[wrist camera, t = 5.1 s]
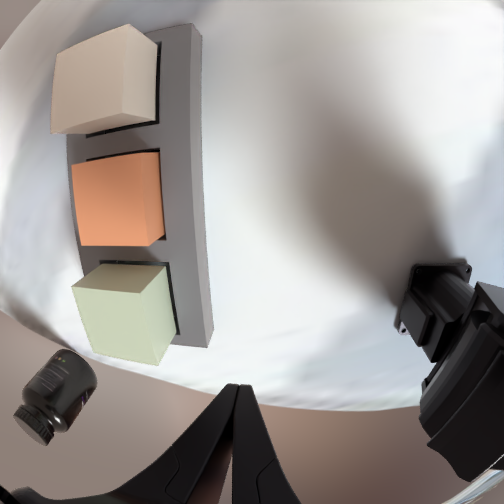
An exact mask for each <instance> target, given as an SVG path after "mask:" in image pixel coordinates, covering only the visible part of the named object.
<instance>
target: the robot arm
mask: <svg viewBox="0 0 504 504" xmlns="http://www.w3.org/2000/svg"><path fill="white" fill-rule="evenodd" d="M418 269H420V270H419V271H418V272H417V273H416V271H417V270H418ZM466 270H467V271H466ZM471 272H472V267H471V266H470V265H469V264H415V265H414V266H413V268H412V271H411V276H410V281H409V285H408V289H407V291H406V293H405V297H404V301H403V305H402V309H401V313H400V321H399V325H398V329H397V330H398V332H399V334H400V335H411V337H412V338H413V340H414V342H415V343H416V345H417V346H418V347H422V348H423V350H424V352H425V353H426V355H427V357H428V358H429V360H430V362H431V363H435V362H437V363H436V365H435V366H434V368H433V369H432V371H431V372H430V374H429V375H428V377H427V378H425V379H424V381H423V382H422V396H421V399H420V410H421V414H420V415H419V420H420V423H421V425H422V427H423V429H424V431H425V432H426V433H427V435H428V436H429V437H430V438H431V439H430V441H428V443H427V446H428V447H430V448H431V449H433V450H435V451H437V452H439V453H440V454H441V455H442V456H443V457H444V458H445V459H446V460H447V461H448V462H449V463H450V465H451V466H452V467H453V469H454V471H455V472H456V474H457V475H458V477H459V478H462V479H463V480H465V481H468V482H472V481H474V480H475V479H477V478H478V477H479V476H480V475H482V474H483V473H484V472H485V471H487V470H488V469H491V470H503V471H504V288H501V287H497V286H494V285H490V284H486V283H482V282H479V281H477V283H476V285H475V288H473V287H472V286H470V285H469V284H468V283H469V280H470V276H471ZM403 328H404V330H402V329H403ZM231 457H233V459H232V504H301V502H300V501H299V499H298V498H297V496H296V495H295V493H294V491H293V490H292V488H291V486H290V484H289V482H288V481H287V479H286V477H285V474H284V472H283V470H282V468H281V465H280V463H279V460H278V458H277V455H276V453H275V450H274V447H273V444H272V442H271V439H270V436H269V434H268V431H267V428H266V425H265V423H264V420H263V417H262V414H261V411H260V408H259V406H258V403H257V400H256V397H255V394H254V391H253V388H252V386H251V385H245V384H241V385H240V386H239V385H238V384H231V383H228V384H227V385H226V386H225V387H224V388H223V389H222V390H221V391H220V393H219V394H218V395H217V396H216V397H215V398H214V399H213V401H212V402H211V403H210V404H209V405H208V406H207V407H206V408H205V410H204V411H203V412H202V413H201V414H200V415H199V416H198V417H197V418H196V420H195V421H194V422H193V423H192V424H191V425H190V426H189V427H188V428H187V429H186V430H185V431H184V432H183V434H182V435H181V436H180V437H179V438H178V439H177V440H176V441H175V442H174V443H173V444H172V446H170V447H169V448H168V449H167V450H166V451H165V452H164V453H163V454H162V455H161V456H160V457H159V458H158V459H157V460H155V461H154V462H153V463H152V464H151V465H149V466H148V467H147V468H146V469H144V470H143V471H141V472H140V473H139V474H137V475H136V476H135V477H133V478H132V479H130V480H129V481H127V482H126V483H125V484H123V485H122V486H120V487H119V488H117V489H115V490H113V491H111V492H108V493H105V494H100V495H95V496H89V497H82V498H73V499H65V500H53V499H48V498H45V497H43V496H41V495H40V494H39V493H37V492H36V491H34V490H33V489H31V488H30V487H23V488H18V489H15V490H13V491H12V492H11V493H10V492H9V491H8V490H6V489H5V488H4V487H3V486H2V485H0V504H218V503H219V499H220V496H221V493H222V489H223V485H224V482H225V479H226V475H227V471H228V468H229V464H230V461H231Z"/></svg>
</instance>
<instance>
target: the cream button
mask: <svg viewBox="0 0 504 504" xmlns="http://www.w3.org/2000/svg"><path fill="white" fill-rule="evenodd" d="M157 46H158V45H156V44H155V43H154V42H153V41H151V40H150V39H149V38H147V37H146V36H145V35H144V34H142V33H141V32H140V31H138V30H137V29H136V28H134V27H133V26H131V25H130V24H126V25H123V26H120V27H117V28H115V29H112V30H109V31H106V32H104V33H101V34H99V35H96V36H94V37H92V38H89V39H87V40H85V41H82V42H80V43H78V44H76V45H74V46H72V47H70V48H68V49H66V50H64V51H62V52H60V53H58V54H57V56H56V63H55V70H54V79H53V89H52V102H51V134H90V133H94V132H98V131H102V130H107V129H111V128H116V127H120V126H125V125H130V124H135V123H141V122H146V121H152V120H155V87H156V62H157Z"/></svg>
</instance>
